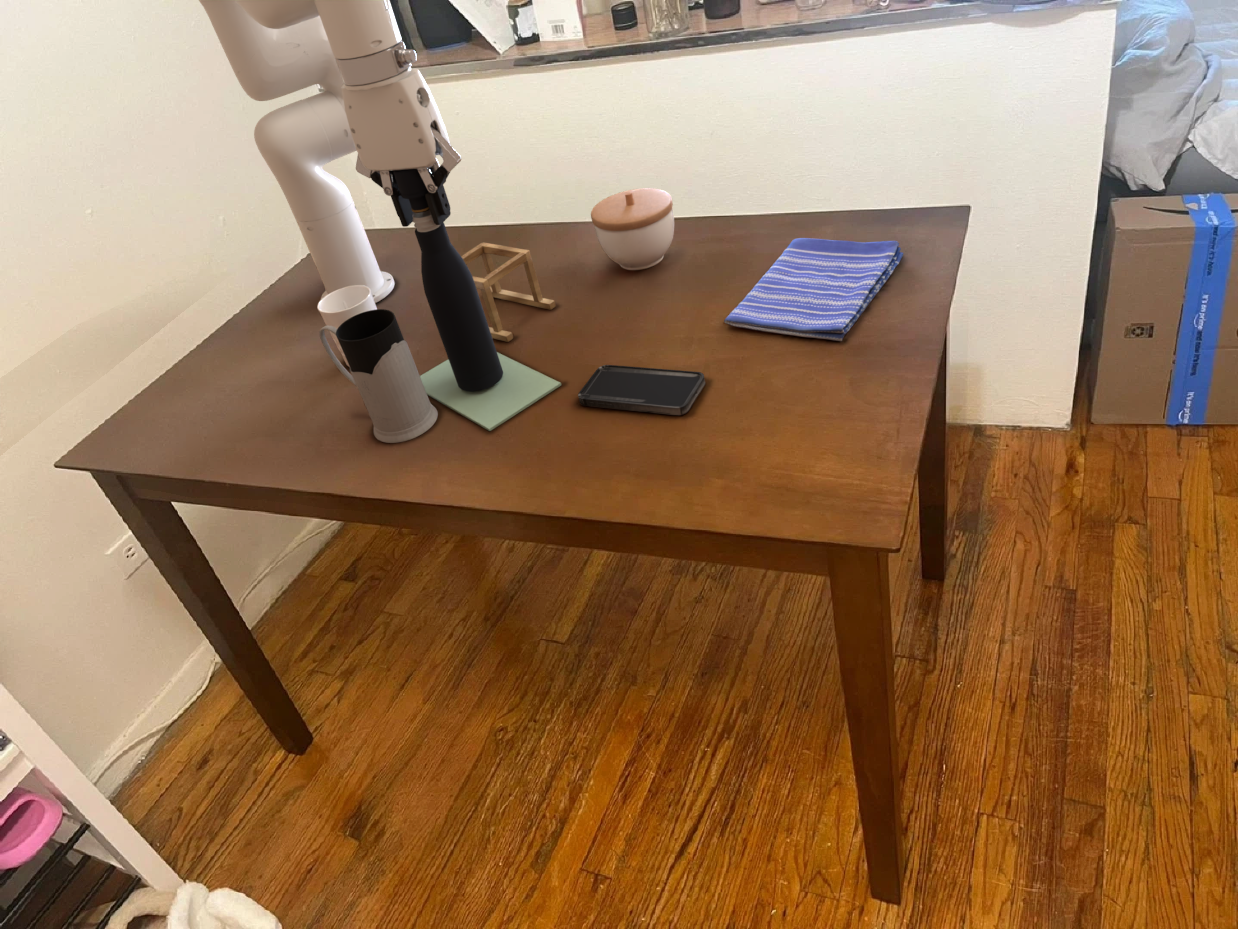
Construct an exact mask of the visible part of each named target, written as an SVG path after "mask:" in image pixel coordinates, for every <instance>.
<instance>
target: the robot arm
mask: <svg viewBox="0 0 1238 929" xmlns="http://www.w3.org/2000/svg"><path fill="white" fill-rule="evenodd" d="M198 1H199V3H200V4H201V6H202V7H203V9H204V11H205V12H206V14H207V16H208V19H209V21H210V23H211V25H212V28H213V30H214V32H215V34H216V36H217V39H218V41H219V43H220V45H221V47H222V49H223V52H224V54H225V56H226V58H227V60H228V63H229V64H230V66H231V69H232V71H233V74H234V76H235V77H236V79H237V81H238V83H239V86H241V88H242V91H244V92H245V94H246V95H247V96H248V97H249V98H250V99H252V100H254V101H257V102H267V101H272V100H276V99H278V98H281V97H284V96H288V95H291V94H293V93H295V92H298V91H301V90H304V89H307V88H309V87H312V86H314V85H320V87H321V88H322V89H323V91H321V92H320V93H317V94H314V95H311V96H309V97H306V98H303V99H300V100H297V101H294V102H292V103H289V104H287V105H284V106H283V105H282V106H281V107H278V108H276V109H273V110H271V111H269V112H267V113H266V114H264V115H263V116H262V117H261V118H260V119H259V120H258V121H257V123H256V125H255V127H254V130H253V137H254V142H255V144H256V147H257V149H258V151H259V153H260V155H261V156H262V158H263V160H264V161H265V163H266V165H267V166H268V168H269V169H270V171H271V173H272V174H273V176H274V178H275V180H276V181H277V183H278V185H279V187H280V189H281V191H282V193H283V195H284V197H285V199H286V201H287V204H288V206H289V208H290V210H291V212H292V215H293V218H294V219H295V221H296V224H297V226H298V228H299V231H300V233H301V236H302V237H303V240H304V242H305V244H306V248H307V249H308V251H309V254H310V256H311V258H312V261H313V263H314V265H315V268H316V270H317V272H318V275H319V277H320V279H321V282H322V284H323V286H324V288H325V290H324V292H322V295H321V296H320V300H321V299H323V298H324V297H325V296H326V295H328V294H330V293H332V292H334V291H336V290H338V289H341V288H344V287H348V286H354V285H362V286H367V287H368V288H370V290H371V293H372V296H373V299H374V302H375V304H377V303H378V302H381V300H383V299H385V298H386V297H387V296H389V295H390V294H391V292H392V291H393V289H394V288H395V284H396V282H395V280H394V277H393V275H392V274H390V273H389V272H387V271H382V270H381V268H380V266H379V264H378V262H377V258H376V256H375V253H374V251H373V248H372V245H371V243H370V241H369V238H368V235H367V232H366V229H365V228H364V225H363V222H362V219H361V217H360V215H359V211H358V210H357V206H356V204H355V202H354V199H353V196H352V194H351V191H350V190H349V188H348V186H347V185H346V184H345V183H344V181H342V180H341V179H340V178H339V177H337V176H335V175H333V174H332V173H329V172H327V170H324V168H323V167H324V166H325V165H327V164H329V163H331V162H333V161H335V160H338V159H340V158H342V157H345V156H347V155H350V154H352V153H354V152H357V157H356V162H355V170H356V172H357V173H358V174H360V175H362V176H364V177H366V178H367V179H371V181H372V182H373V183H375V185H377V186H379V187H380V188H381V189H382V190H383V193H384V194H385V195H386V196H388V197H390V198H391V201H392V204H393V207H394V209H395V213H396V215H397V217H398V218H399V222H400V224H401V226H402V227H403V228H405V227H407V228H408V227H410V225H411V224H412V223H414V222H413V221H412V219H413V217H412V215H413V214H414V212H413V211H412V209H411V208H412V207H411V204H410V201H409V199H404V198H402V196H401V193H400V190H399V187H398V185H397V182H396V179H395V176H394V173H393V170H406V169H417V170H418V172H419V174H420V176H421V178H422V180H423V182H424V184H425V186H426V188H427V190H428V193H427V194H425V197H426V200H427V203H428V206H429V209H430V212H431V215H432V218H433V221H434V224H436V225H441V224H442V223H443V222H444V223H445V222H446V220H447V219H448V218H449V217H450V216H451V205H450V202H449V198H448V195H447V193H446V189H445V187H444V184H445V183H446V182H447V179H448V177H449V175H450V174H451V172H452V171H453V170H454V169H455V168H456V167H457V166H458V165H459V164H460V162H461V161H462V156H461V155H460V154H459V152H458V151H457V150H456V149H455V148H454V147H453V146H452V145H451V142H450V138H449V134H448V132H447V128H446V125H445V122H444V121H443V118H442V115H441V113H440V110H439V107H438V105H437V103H436V101H435V98H434V96H433V94H432V91H431V89H430V87H429V86H428V84H427V82H426V80H425V78H424V76H423V75H422V73H421V71H420V70H419V68H418V67H416V68H414V67H413V68H412V67H411V66H412V64H413V63H414V64H415V63H416V62H417V53H416V51H415V50H414V49H412V48H411V49H408V48H406V45H405V42H404V41H403V39H402V36H401V32H400V28H399V26H398V23H397V20H396V16H395V13H394V11H393V10H394V9H393V7H392V4H391V0H198ZM437 156H440V157H441V158H442V160H443V161H442V163H441V164H440V163H439V161H438V159H437Z"/></svg>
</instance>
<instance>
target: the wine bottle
mask: <svg viewBox="0 0 1238 929" xmlns="http://www.w3.org/2000/svg"><path fill="white" fill-rule="evenodd" d="M393 173H394V176H395V179H396V182H397V185H398V187H399V190H400V193H401V196H402V198H404V199H409V201H410V204H411V207H412V208H411V209H412V211H413V212H414V214H413V215H412V217H413V219H412V221H413V222H412V223H414V228H415V229H414V234H415V238H416V240H417V243H418V246H419V249H420V252H421V253H420V254H421V255H420V257H421V258H420V263H421V264H420V266H421V267H420V271H421V280H422V285H423V291H424V295H425V297H426V300H427V304H428V306H429V308H430V309H429V310H430V311H431V314H432V318H433V320H434V323H435V325H436V329H437V330H438V334H439V337H440V339H441V342H442V345H443V347H444V350H445V353H446V356H447V360H448V359H449V362H450V365H451V367H452V370H453V373H454V376H455V379H456V381H457V384H458V387H459V388H460V389H462V390H464V391H467V392H476V391H481V390H485V389H488V388H490V387H492V386H494V385H495V384H496V383H498V382H499V381H500V379H501V378H502V376H503V370H502V367H501V364H500V361H499V357H498V354H497V352H498V350H497V348H496V345H495V342H494V338H492V336H491V332H490V329H489V327H490V326H489V322H488V321H487V320H488V319H487V317H486V314H485V311H484V307H483V305H482V301H481V297H480V296H479V292H478V288H476V286H475V283H474V279H473V277H472V276H473V275H472V272H471V270H470V268H469V267H468V264H467V265H466V263H465V262H464V260H463V258H462V257H461V256H462V255H461V254H460V252H458V250H457V249H456V248H455V246H454V245H453V243H452V242H451V240H450V237H449V234H448V231H447V228H446V225H445V221H444V222H443V223H442V224H441V225H436V224H434V221H433V218H432V215H431V212H430V209H429V206H428V203H427V200H426V197H425V194H427V193H428V190H427V188H426V186H425V184H424V182H423V180H422V178H421V176H420V174H419V172H418V170H417V169H406V170H393Z"/></svg>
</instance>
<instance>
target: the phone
mask: <svg viewBox="0 0 1238 929" xmlns="http://www.w3.org/2000/svg"><path fill="white" fill-rule="evenodd" d="M705 386H706V379H705V374H704V373H703V372H700V371H693V370H692V371H691V370H681V369H680V370H679V369H667V368H666V369H665V368H655V367H653V368H652V367H640V366H631V365H630V366H629V365H628V366H627V365H617V364H604V365H601V366H599V367H597V368H596V370H595V371H594V372H593V374H592V375H591V376H590V378H589V379H588V380H587V382H585V384H584V386H583V387H582V388H581V389H580V391H579V392H578V394H577V397H578V401H579V404H580V405H581V406H583V407H591V408H602V409H611V410H620V411H631V412H640V413H641V412H642V413H650V414H661V415H671V416H683V415H686V414H687V413H688V412H689V411H690V410H691V409H692V407H693V405H694V403H695V402H696V400H697V398H698V397H699V395H700V394H701V392H702V390H703V389H704V387H705Z"/></svg>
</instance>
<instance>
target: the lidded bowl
mask: <svg viewBox="0 0 1238 929" xmlns="http://www.w3.org/2000/svg"><path fill="white" fill-rule="evenodd" d="M673 206H674V204H673V198H672V195H671V194H670V193H669V192H667V191H665V190H664V189H659V188H654V187H653V188H652V187H644V188H643V187H641V188H633V189H628V190H624V191H621V192H617V193H614V194H612V195H609V196H607V197H605V198H603V199H601V200H600V201H599V202H598V203H596V204H595V205H594V206H593V207H592V209H591V211H590V219H591V222H592V224H593V227H594V232H595V235H596V238H597V241H598V244H599V245H600V247H601V249H602V251H603V252H604V254H605V255H606V256H607V257H608V258H609V259H610V260H611V261H613V262H615V263H616V264H618V265H619V266H620V268H622V269H624V270H627V271H640V270H645V269H649V268H651V267H653V266H656V265H658V264H660V263H661V262H662V261H663V259H664V257H665V254H666V253H667V252H668V251H669V249H670V247H671V244H672V243H673V239H674V236H675V214H674V209H673Z"/></svg>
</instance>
